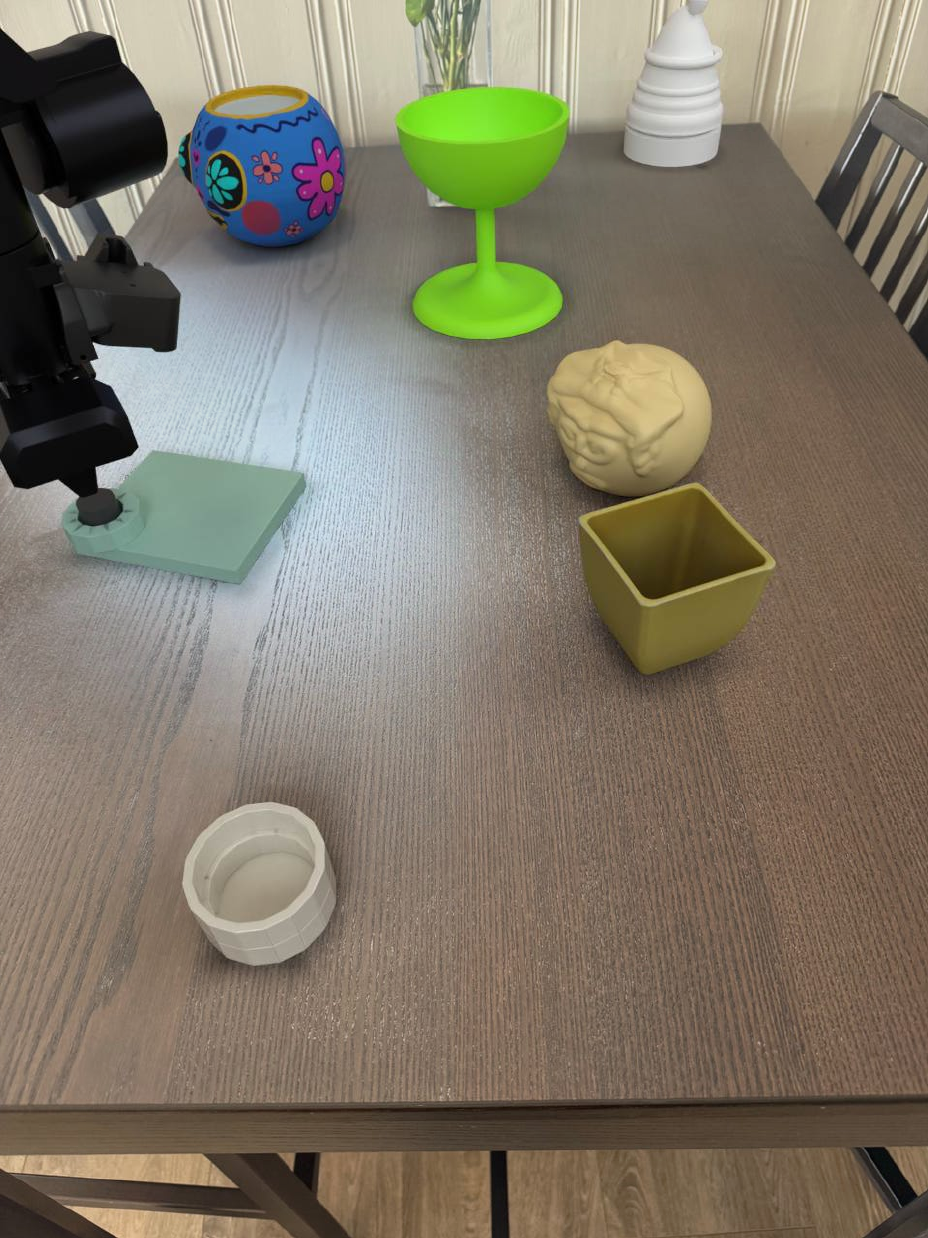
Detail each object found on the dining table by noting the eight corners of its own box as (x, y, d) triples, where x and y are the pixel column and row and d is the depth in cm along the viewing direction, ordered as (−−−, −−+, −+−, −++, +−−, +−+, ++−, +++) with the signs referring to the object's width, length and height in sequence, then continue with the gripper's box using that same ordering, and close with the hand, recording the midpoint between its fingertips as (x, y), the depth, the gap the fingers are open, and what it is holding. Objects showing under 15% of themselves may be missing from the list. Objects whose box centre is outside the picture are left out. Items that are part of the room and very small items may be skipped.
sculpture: (524, 470, 72) (525, 351, 64) (624, 413, 77) (636, 296, 69) (627, 537, 65) (642, 414, 58) (729, 470, 70) (755, 349, 63)
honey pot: (737, 152, 119) (764, -7, 106) (663, 174, 115) (681, 10, 102) (676, 128, 127) (694, -24, 114) (604, 147, 123) (614, -8, 110)
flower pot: (568, 614, 60) (575, 514, 54) (680, 580, 62) (699, 478, 56) (629, 708, 54) (644, 607, 48) (750, 666, 56) (780, 564, 50)
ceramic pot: (188, 233, 108) (151, 98, 97) (315, 197, 115) (294, 66, 104) (244, 283, 98) (210, 138, 87) (381, 241, 104) (365, 100, 93)
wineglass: (393, 332, 89) (372, 140, 76) (434, 263, 99) (421, 84, 86) (548, 345, 86) (554, 147, 73) (573, 272, 96) (582, 88, 83)
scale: (61, 559, 67) (45, 529, 64) (148, 461, 75) (137, 432, 73) (235, 592, 63) (225, 562, 61) (306, 486, 72) (299, 456, 69)
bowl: (182, 949, 45) (156, 910, 42) (243, 832, 50) (223, 789, 46) (306, 986, 43) (289, 949, 40) (357, 862, 48) (345, 819, 45)
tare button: (75, 524, 65) (68, 507, 64) (96, 501, 67) (89, 485, 66) (107, 529, 65) (100, 513, 64) (128, 506, 67) (121, 490, 65)
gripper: (194, 266, 40) (264, 530, 51) (98, 152, 51) (172, 387, 62) (-66, 334, 36) (71, 601, 47) (-107, 194, 48) (11, 436, 59)
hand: (88, 492), depth 54 cm, fingers closed
